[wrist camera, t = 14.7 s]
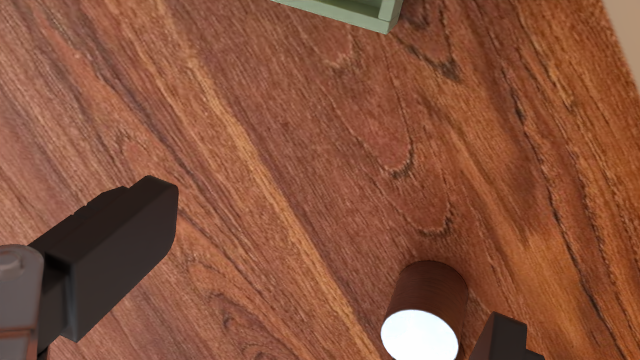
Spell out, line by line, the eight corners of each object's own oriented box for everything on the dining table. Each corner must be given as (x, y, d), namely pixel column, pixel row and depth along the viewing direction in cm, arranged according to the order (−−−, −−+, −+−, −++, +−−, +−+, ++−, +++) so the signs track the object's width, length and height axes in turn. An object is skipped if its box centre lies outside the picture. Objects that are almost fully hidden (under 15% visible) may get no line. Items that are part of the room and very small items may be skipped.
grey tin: (427, 247, 44) (412, 295, 39) (483, 292, 44) (476, 346, 40) (384, 286, 47) (365, 335, 42) (436, 328, 48) (424, 382, 43)
